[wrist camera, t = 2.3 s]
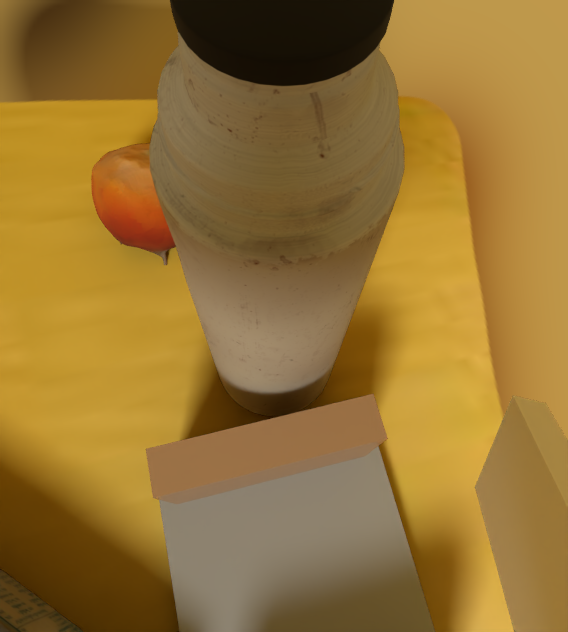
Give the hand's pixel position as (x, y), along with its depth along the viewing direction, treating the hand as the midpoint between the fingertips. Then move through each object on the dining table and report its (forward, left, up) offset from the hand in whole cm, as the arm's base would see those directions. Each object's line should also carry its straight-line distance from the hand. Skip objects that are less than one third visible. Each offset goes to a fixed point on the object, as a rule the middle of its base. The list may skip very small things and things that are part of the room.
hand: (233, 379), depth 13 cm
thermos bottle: (-7, +3, -23) cm, 24 cm away
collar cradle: (+7, +1, -23) cm, 24 cm away
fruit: (-20, -3, -23) cm, 31 cm away
